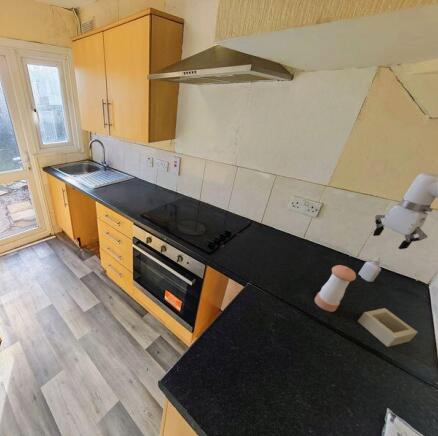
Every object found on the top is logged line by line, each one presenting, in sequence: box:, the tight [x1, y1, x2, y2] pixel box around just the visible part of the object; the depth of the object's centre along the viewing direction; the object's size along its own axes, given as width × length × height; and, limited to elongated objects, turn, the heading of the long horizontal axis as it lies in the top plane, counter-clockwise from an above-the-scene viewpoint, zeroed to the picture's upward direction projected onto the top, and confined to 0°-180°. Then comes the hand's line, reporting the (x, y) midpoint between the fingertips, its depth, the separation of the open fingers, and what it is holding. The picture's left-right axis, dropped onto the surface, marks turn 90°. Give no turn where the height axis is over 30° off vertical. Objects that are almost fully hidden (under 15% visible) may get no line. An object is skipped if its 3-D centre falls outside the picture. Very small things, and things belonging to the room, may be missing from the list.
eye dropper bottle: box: [358, 256, 382, 283], centre depth 102 cm, size 4×6×12 cm
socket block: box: [357, 307, 418, 348], centre depth 80 cm, size 10×10×5 cm
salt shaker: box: [314, 264, 357, 313], centre depth 86 cm, size 7×7×19 cm
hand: (388, 241), depth 96 cm, fingers open, 9 cm apart
